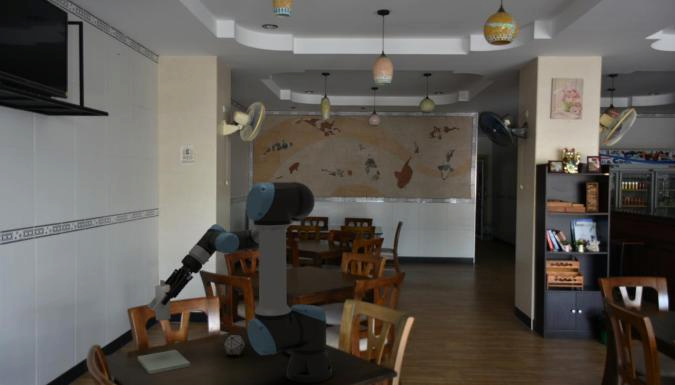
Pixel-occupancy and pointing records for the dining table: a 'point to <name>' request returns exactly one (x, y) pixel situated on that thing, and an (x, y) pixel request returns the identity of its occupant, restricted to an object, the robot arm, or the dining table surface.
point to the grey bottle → (159, 294)
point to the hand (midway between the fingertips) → (152, 309)
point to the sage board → (163, 361)
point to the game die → (234, 345)
